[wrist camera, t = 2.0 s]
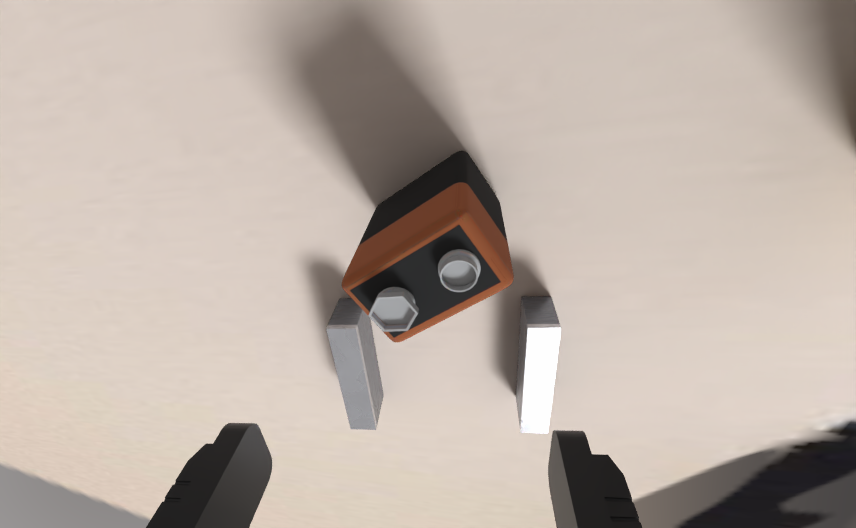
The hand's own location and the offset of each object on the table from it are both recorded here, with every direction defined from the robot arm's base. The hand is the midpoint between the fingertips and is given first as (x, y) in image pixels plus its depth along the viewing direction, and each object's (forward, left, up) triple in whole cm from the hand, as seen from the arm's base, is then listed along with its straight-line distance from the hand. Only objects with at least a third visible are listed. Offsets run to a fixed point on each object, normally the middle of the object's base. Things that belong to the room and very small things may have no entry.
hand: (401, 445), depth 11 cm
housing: (+12, 0, -17) cm, 21 cm away
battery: (0, 0, -17) cm, 17 cm away
